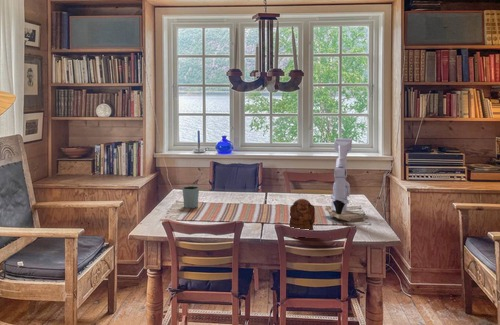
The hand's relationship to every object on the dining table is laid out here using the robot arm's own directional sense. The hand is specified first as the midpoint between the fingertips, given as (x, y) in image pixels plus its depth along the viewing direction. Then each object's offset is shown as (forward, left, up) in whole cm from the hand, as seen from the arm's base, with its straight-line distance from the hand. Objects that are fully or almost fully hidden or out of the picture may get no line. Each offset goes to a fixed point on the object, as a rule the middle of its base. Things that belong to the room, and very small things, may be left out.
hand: (338, 214), depth 247 cm
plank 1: (-8, +1, -2) cm, 8 cm away
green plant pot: (-60, -67, -4) cm, 90 cm away
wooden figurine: (+16, -31, -4) cm, 35 cm away
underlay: (-4, +5, -4) cm, 8 cm away
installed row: (-4, +10, -4) cm, 12 cm away
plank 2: (0, +1, -2) cm, 3 cm away
